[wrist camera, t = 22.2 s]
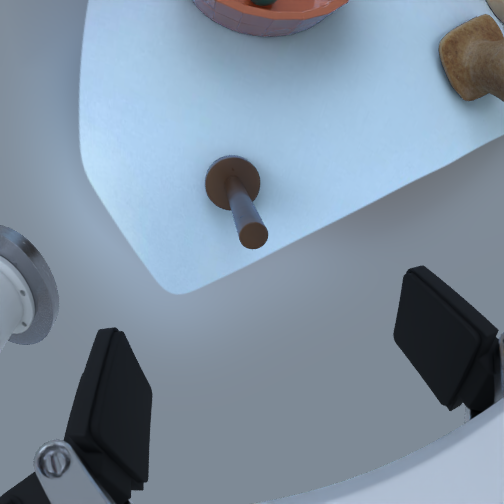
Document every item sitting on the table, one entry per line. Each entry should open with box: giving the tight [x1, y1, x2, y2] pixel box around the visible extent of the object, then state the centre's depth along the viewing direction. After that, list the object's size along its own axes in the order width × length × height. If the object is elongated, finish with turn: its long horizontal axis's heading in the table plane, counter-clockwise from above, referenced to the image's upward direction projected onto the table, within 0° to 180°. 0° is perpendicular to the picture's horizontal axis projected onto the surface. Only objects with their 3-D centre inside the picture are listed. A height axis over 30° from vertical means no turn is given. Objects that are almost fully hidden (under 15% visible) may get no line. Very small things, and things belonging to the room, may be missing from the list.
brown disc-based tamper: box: [205, 155, 268, 249], centre depth 23 cm, size 5×5×15 cm
